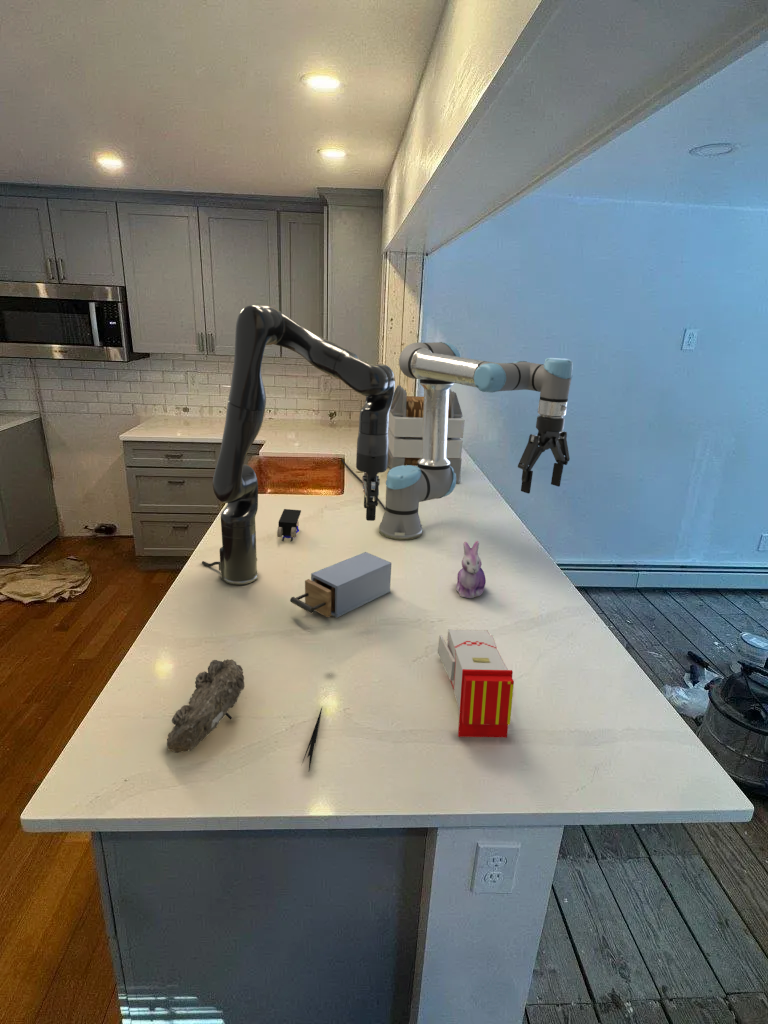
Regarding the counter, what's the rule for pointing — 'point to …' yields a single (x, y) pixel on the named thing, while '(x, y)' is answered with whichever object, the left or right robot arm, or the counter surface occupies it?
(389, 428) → the white slatted crate
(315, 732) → the feather
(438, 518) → the counter surface
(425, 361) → the right robot arm
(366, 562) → the cabinet
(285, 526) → the figurine character
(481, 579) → the figurine
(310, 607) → the drawer
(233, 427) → the left robot arm
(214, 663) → the fossil
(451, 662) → the toy
